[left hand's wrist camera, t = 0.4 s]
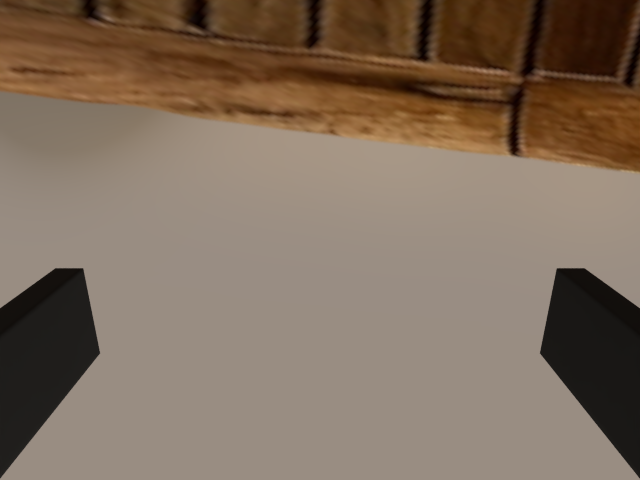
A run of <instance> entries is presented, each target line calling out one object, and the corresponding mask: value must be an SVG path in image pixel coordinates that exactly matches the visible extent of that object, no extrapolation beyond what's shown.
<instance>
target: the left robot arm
mask: <svg viewBox="0 0 640 480" xmlns="http://www.w3.org/2000/svg"><path fill="white" fill-rule="evenodd" d="M99 354H100V351H99V346H98V341H97V336H96V331H95V326H94V321H93V316H92V311H91V306H90V301H89V295H88V290H87V286H86V280H85V275H84V270H83V268H55V269H54V270H53V271H51V272H50V273H48V274H47V275H46V276H44V277H43V278H42V279H40V280H39V281H37V282H36V283H35V284H33V285H32V286H30V287H29V288H28V289H26V290H25V291H24V292H22V293H21V294H19V295H18V296H17V297H15V298H14V299H12V300H11V301H10V302H8V303H7V304H6V305H4V306H3V307H1V308H0V478H1V477H2V475H3V474H4V473H5V472H6V470H7V469H8V468H9V467H10V465H11V464H12V463H13V462H14V460H15V459H16V458H17V457H18V455H19V454H20V453H21V452H22V450H23V449H24V448H25V447H26V445H27V444H28V443H29V441H30V440H31V439H32V438H33V437H34V435H35V434H36V433H37V432H38V430H39V429H40V428H41V427H42V425H43V424H44V423H45V421H46V420H47V419H48V418H49V417H50V415H51V414H52V413H53V412H54V410H55V409H56V408H57V406H58V405H59V404H60V403H61V401H62V400H63V399H64V398H65V396H66V395H67V394H68V393H69V391H70V390H71V389H72V388H73V386H74V385H75V384H76V383H77V381H78V380H79V379H80V378H81V376H82V375H83V374H84V373H85V371H86V370H87V369H88V368H89V366H90V365H91V364H92V363H93V361H94V360H95V359H96V358H97V356H98V355H99ZM540 354H541V355H542V356H543V358H544V359H545V360H546V361H547V363H548V364H549V365H550V366H551V368H552V369H553V370H554V371H555V373H556V374H557V375H558V376H559V378H560V379H561V380H562V381H563V383H564V384H565V385H566V386H567V388H568V389H569V390H570V391H571V393H572V394H573V395H574V396H575V398H576V399H577V400H578V401H579V403H580V404H581V405H582V406H583V408H584V409H585V410H586V412H587V413H588V414H589V415H590V416H591V418H592V419H593V420H594V422H595V423H596V424H597V425H598V427H599V428H600V429H601V430H602V432H603V433H604V434H605V435H606V437H607V438H608V439H609V440H610V442H611V443H612V444H613V445H614V447H615V448H616V449H617V450H618V452H619V453H620V454H621V455H622V457H623V458H624V459H625V460H626V462H627V463H628V464H629V465H630V467H631V468H632V469H633V470H634V472H635V473H636V474H637V475H638V477H639V478H640V308H639V307H637V306H636V305H634V304H633V303H632V302H630V301H629V300H627V299H626V298H625V297H623V296H622V295H621V294H619V293H618V292H616V291H615V290H614V289H612V288H611V287H610V286H608V285H607V284H605V283H604V282H603V281H601V280H600V279H598V278H597V277H596V276H594V275H593V274H591V273H590V272H589V271H587V270H586V269H584V268H557V270H556V275H555V280H554V286H553V290H552V296H551V301H550V306H549V311H548V316H547V321H546V326H545V331H544V336H543V341H542V346H541V351H540Z"/></svg>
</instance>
